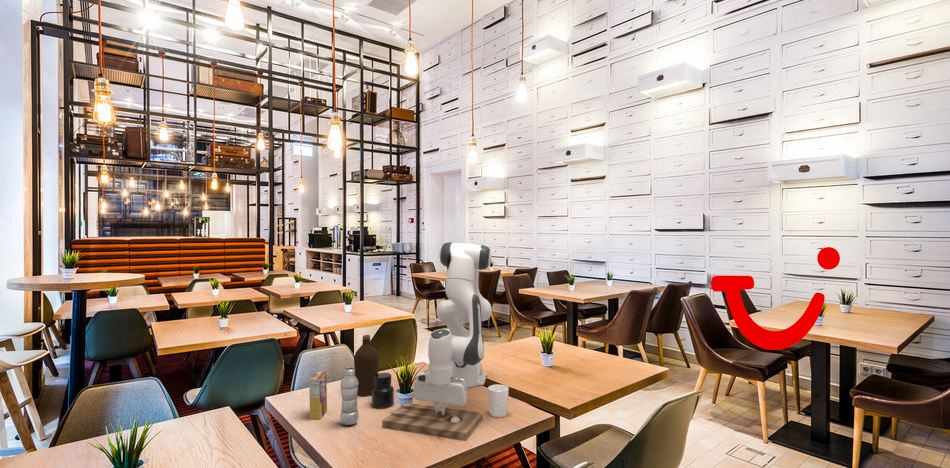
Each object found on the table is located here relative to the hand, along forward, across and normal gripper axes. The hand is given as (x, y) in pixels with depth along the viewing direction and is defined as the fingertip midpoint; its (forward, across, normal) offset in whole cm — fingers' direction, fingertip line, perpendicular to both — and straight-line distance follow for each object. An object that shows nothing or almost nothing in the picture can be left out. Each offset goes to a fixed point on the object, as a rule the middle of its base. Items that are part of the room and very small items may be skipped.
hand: (440, 414), depth 162 cm
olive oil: (+4, +44, -20) cm, 48 cm away
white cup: (+4, -17, -16) cm, 24 cm away
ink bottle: (+4, +30, -10) cm, 32 cm away
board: (+4, +3, 0) cm, 5 cm away
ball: (+2, -6, 0) cm, 6 cm away
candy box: (+4, +48, +7) cm, 49 cm away
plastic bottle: (+4, +32, +10) cm, 34 cm away
